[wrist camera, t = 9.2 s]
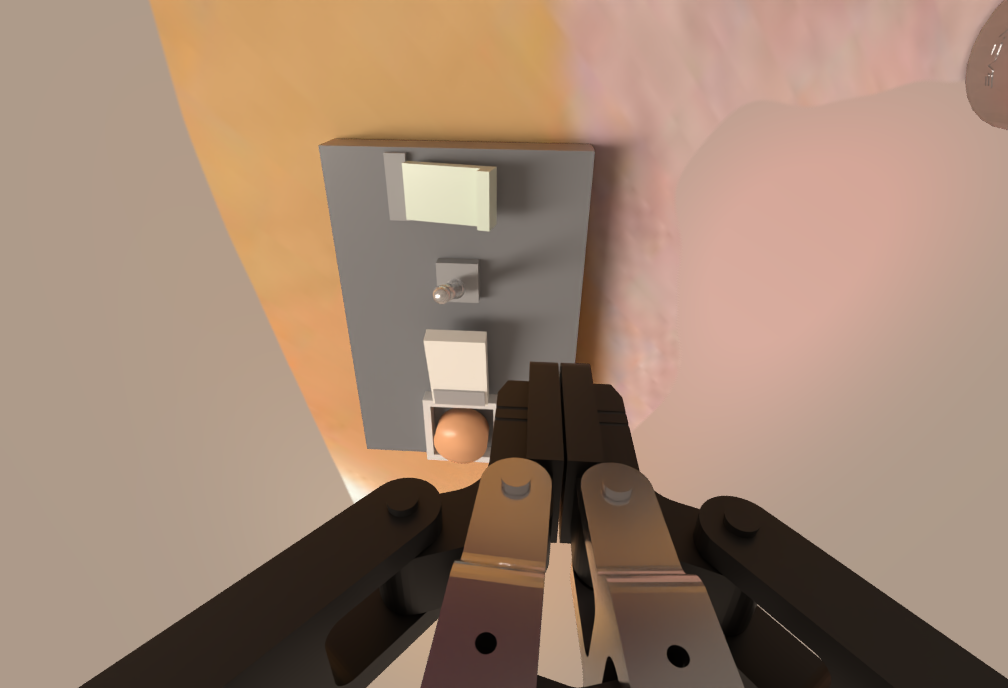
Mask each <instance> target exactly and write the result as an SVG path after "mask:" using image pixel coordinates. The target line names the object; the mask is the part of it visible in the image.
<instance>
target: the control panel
mask: <svg viewBox="0 0 1008 688" xmlns="http://www.w3.org/2000/svg"><path fill="white" fill-rule="evenodd" d="M319 152H320V158H321V164H322V170H323V176H324V183H325V189H326V195H327V201H328V208H329V214H330V220H331V226H332V232H333V239H334V245H335V251H336V257H337V264H338V270H339V276H340V282H341V288H342V295H343V301H344V307H345V313H346V320H347V326H348V332H349V338H350V344H351V351H352V357H353V363H354V369H355V376H356V382H357V388H358V394H359V400H360V407H361V413H362V419H363V425H364V432H365V438H366V444H367V449H381V450H401V451H421V452H427V459H428V460H447V459H445V458H444V457H442V456H441V455H440V454H439V453H438V451H437V450H436V448H435V445H434V436H435V433H436V429H437V426H438V422H439V419H440V417H441V416H442V415H443V414H444V413H445V412H446V411H448V410H450V409H452V408H471V409H474V410H476V411H478V412H479V413H481V414H482V415H483V416H484V417H485V418H486V420H487V422H488V424H489V436H488V443H487V449H486V452H485V453H484V455H483V456H482V457H481V458H480V459H478V460H476V461H474V462H487V463H489V460H490V452H491V444H492V436H493V428H494V420H495V412H496V404H497V396H498V391H499V390H500V389H501V388H502V387H503V385H504V384H505V383H506V382H507V381H508V380H515V381H529V366H530V361H532V362H555V363H558V364H559V370H560V363H575V358H576V347H577V337H578V326H579V315H580V305H581V294H582V284H583V273H584V262H585V252H586V241H587V231H588V220H589V209H590V199H591V188H592V177H593V167H594V156H595V151H594V149H593V147H592V145H591V144H568V143H520V142H472V141H424V140H376V139H332V140H330V141H328V142H325V143H323V144H321V145H319ZM406 161H416V162H432V163H447V164H462V165H477V166H492V167H497V224H496V225H495V226H494V227H493V228H492V229H491V230H490V231H479V230H477V226H469V225H458V224H447V223H437V222H426V221H416V220H407V219H406V207H405V196H404V184H403V172H402V163H403V162H406ZM452 279H459V280H461V281H462V282H463V283H464V285H465V288H466V290H465V293H464V295H463V296H462V297H461V298H458V299H453V300H451V301H449V302H447V303H445V304H439V303H437V302H436V301H435V300H434V299H433V291H434V289H435V288H436V287H438V286H440V285H443V284H446V283H448V282H449V281H450V280H452ZM426 329H433V330H459V331H484V332H487V354H488V379H489V400H488V406H470V405H449V404H435V403H433V398H432V391H431V385H430V379H429V372H428V366H427V360H426V354H425V347H424V341H423V340H424V336H425V333H426ZM448 461H449V460H448Z"/></svg>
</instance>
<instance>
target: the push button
mask: <svg viewBox="0 0 1008 688" xmlns="http://www.w3.org/2000/svg"><path fill="white" fill-rule="evenodd" d="M488 436H489V424H488V422H487V420H486V418H485V417H484V416H483V415H482V414H481V413H479V412H478V411H476V410H474V409H471V408H452V409H450V410H448V411H446V412H445V413H444V414H443V415H442V416H441V417H440V419H439V422H438V426H437V429H436V433H435V436H434V445H435V448H436V450H437V451H438V453H439V454H440V455H441V456H442V457H444V458H445V459H447V460H449V461H451V462H455V463H471V462H474V461H476V460H478V459H480V458H481V457H482V456H483V455H484V453H485V452H486V449H487V443H488Z"/></svg>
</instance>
